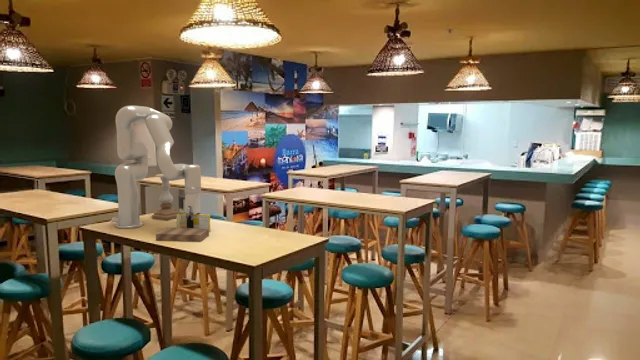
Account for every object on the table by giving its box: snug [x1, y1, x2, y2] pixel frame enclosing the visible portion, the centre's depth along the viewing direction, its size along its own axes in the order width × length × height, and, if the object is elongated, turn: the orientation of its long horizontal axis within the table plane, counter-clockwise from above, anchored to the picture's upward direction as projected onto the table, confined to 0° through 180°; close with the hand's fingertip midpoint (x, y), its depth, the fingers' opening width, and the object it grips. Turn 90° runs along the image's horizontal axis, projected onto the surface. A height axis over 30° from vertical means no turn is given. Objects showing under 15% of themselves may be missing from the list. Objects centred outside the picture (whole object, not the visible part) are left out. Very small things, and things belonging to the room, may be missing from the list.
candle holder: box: [151, 173, 179, 222], centre depth 250 cm, size 11×11×24 cm
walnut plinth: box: [155, 227, 210, 243], centre depth 207 cm, size 20×12×3 cm, turn 86°
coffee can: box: [178, 194, 186, 214], centre depth 240 cm, size 10×10×14 cm
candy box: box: [176, 214, 211, 233], centre depth 221 cm, size 16×2×8 cm, turn 84°
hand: (193, 225), depth 221 cm, fingers open, 9 cm apart
